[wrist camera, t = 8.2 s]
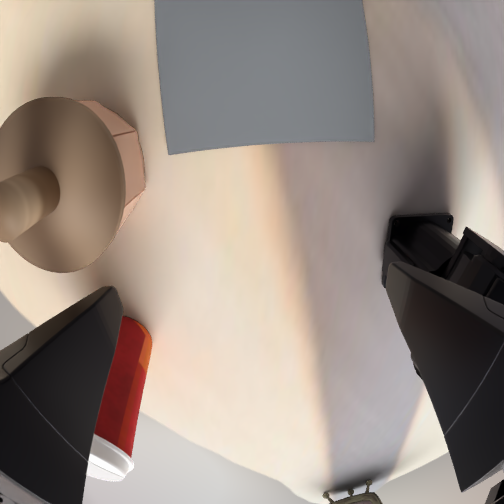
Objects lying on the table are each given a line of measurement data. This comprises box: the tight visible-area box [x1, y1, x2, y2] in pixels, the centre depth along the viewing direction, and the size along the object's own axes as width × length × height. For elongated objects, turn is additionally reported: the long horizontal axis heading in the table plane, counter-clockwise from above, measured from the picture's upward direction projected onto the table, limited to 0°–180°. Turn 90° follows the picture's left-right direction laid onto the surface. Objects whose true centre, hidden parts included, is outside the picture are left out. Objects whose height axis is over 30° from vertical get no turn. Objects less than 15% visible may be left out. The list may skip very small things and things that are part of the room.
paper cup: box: [86, 316, 152, 481], centre depth 20 cm, size 8×8×14 cm
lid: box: [0, 97, 126, 273], centre depth 12 cm, size 11×11×5 cm
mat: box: [155, 0, 374, 155], centre depth 16 cm, size 14×14×1 cm
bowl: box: [77, 101, 146, 232], centre depth 17 cm, size 10×10×5 cm
